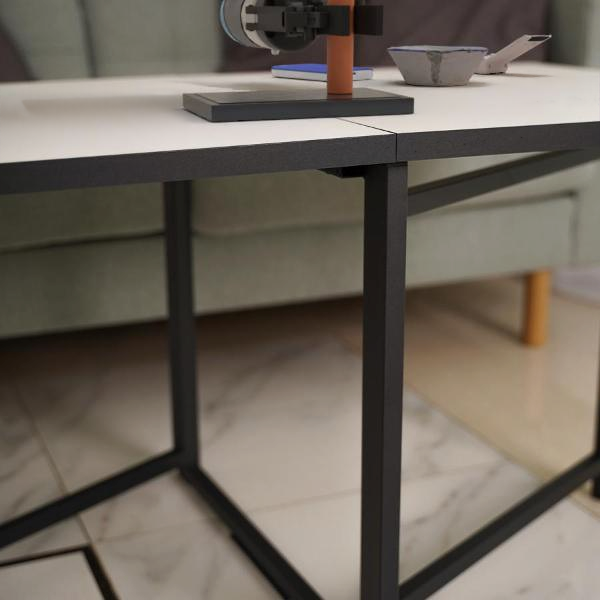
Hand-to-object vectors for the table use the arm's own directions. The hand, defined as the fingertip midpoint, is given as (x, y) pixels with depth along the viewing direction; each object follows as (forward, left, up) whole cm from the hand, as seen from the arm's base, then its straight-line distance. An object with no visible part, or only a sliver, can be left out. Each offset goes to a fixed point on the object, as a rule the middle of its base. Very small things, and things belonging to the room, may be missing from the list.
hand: (362, 20), depth 84 cm
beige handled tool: (+38, +46, -9) cm, 61 cm away
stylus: (0, +5, -7) cm, 9 cm away
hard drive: (+12, +43, -9) cm, 46 cm away
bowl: (+23, +29, -9) cm, 39 cm away
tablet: (-5, +5, -9) cm, 11 cm away
